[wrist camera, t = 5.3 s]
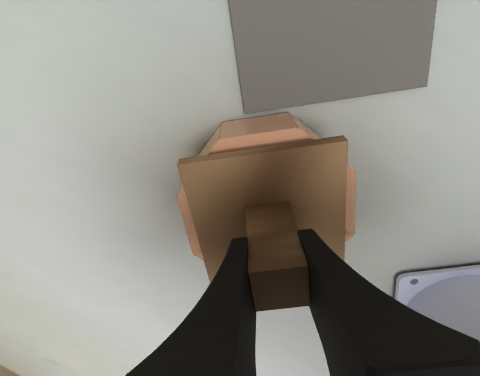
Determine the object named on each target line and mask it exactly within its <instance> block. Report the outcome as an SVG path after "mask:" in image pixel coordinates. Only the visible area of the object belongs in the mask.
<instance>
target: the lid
mask: <svg viewBox="0 0 480 376" xmlns="http://www.w3.org/2000/svg"><path fill="white" fill-rule="evenodd" d="M347 154H348V140H347V139H346V138H345V137H344V136H336V137H329V138H322V139H315V140H308V141H301V142H294V143H287V144H280V145H273V146H266V147H259V148H252V149H245V150H238V151H231V152H225V153H218V154H211V155H204V156H197V157H190V158H183V159H179V162H178V164H177V166H178V170H179V173H180V177H181V180H182V184H183V187H184V191H185V195H186V198H187V202H188V205H189V209H190V212H191V216H192V219H193V223H194V227H195V230H196V234H197V237H198V241H199V244H200V248H201V251H202V255H203V259H204V262H205V266H206V269H207V273H208V276H209V280H210V283H211V281H212V280H213V278H214V276H215V275H216V273H217V271H218V269H219V267H220V265H221V263H222V261H223V259H224V257H225V255H226V252H227V250H228V247H229V245H230V242H231V240H232V239H233V238H239V237H247V238H248V251H249V254H248V273H249V279H250V284H251V289H252V295H253V300H254V305H255V311H265V310H274V309H283V308H293V307H302V306H310V296H309V276H308V264H307V261H306V257H305V254H304V252H303V250H302V247H301V244H300V240H299V237H298V233H297V231H298V230H303V229H311V228H312V229H313V230H314V231H315V232H316V233H317V234H318V235H319V236H320V238H321V239H322V240H323V241H324V242H325V243H326V244H327V245H328V246H329V247H330V248H331V249H332V250H333V251H334V252H335V253H336V254H337V255H338V256H339V257H340V258H341V259H342V260H343V261H344V251H345V218H346V186H347Z"/></svg>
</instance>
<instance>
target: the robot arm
mask: <svg viewBox="0 0 480 376" xmlns="http://www.w3.org/2000/svg"><path fill="white" fill-rule="evenodd" d="M297 233H298V237H299V240H300V244H301V247H302V250H303V252H304V254H305V257H306V261H307V264H308V276H309V296H310V306H309V307H310V310H311V313H312V316H313V319H314V322H315V325H316V328H317V331H318V333H319V336H320V339H321V342H322V345H323V349H324V352H325V355H326V359H327V364H328V368H329V372H330V376H480V265H473V266H464V267H455V268H446V269H437V270H428V271H420V272H411V273H403V274H401V275H399V276H398V277H397V279H396V288H395V298H392V297H391V296H389V295H387V294H386V293H384V292H383V291H381V290H380V289H378V288H377V287H375V286H374V285H373V284H371V283H370V282H368V281H367V280H366V279H365V278H363V277H362V276H361V275H359V274H358V273H357V272H356V271H355V270H353V269H352V268H351V267H350V266H349V265H348V264H347V263H345V262H344V261H343V260H342V259H341V258H340V257H339V256H338V255H337V254H336V253H335V252H334V251H333V250H332V249H331V248H330V247H329V246H328V245H327V244H326V243H325V242H324V241H323V240H322V239H321V238H320V236H319V235H318V234H317V233H316V232H315V231H314V230H313V229H312V228H311V229H303V230H298V231H297ZM248 254H249V251H248V238H247V237H239V238H233V239H232V240H231V242H230V245H229V247H228V250H227V252H226V255H225V257H224V259H223V261H222V263H221V265H220V267H219V269H218V271H217V273H216V275H215V276H214V278H213V280H212V281H211V283H210V285H209V286H208V288H207V290H206V291H205V293H204V294H203V296H202V297H201V299H200V300H199V301H198V303H197V304H196V305H195V307H194V308H193V309H192V311H191V312H190V313H189V314H188V316H187V317H186V318H185V319H184V320H183V322H182V323H181V324H180V325H179V326H178V327H177V329H176V330H175V331H174V332H173V333H172V334H171V335H170V336H169V337H168V338H167V339H166V340H165V341H164V342H163V343H162V344H161V345H160V346H159V347H158V348H157V349H156V350H155V351H154V352H152V353H151V354H150V355H149V356H148V357H147V358H146V359H144V360H143V361H142V362H141V363H140V364H138V365H137V366H136V367H135V368H134V369H133V370H131V371H130V372H129V373H127V374H126V376H256V364H255V338H256V311H255V305H254V300H253V295H252V289H251V284H250V279H249V273H248ZM412 279H413V280H412Z"/></svg>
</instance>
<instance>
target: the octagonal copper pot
mask: <svg viewBox="0 0 480 376" xmlns="http://www.w3.org/2000/svg"><path fill="white" fill-rule="evenodd" d="M315 139H322V138H321V137H320V136H318V135H317V134H316V133H314V132H313V131H312V130H311V129H309V128H308V127H307V126H306V125H304V124H303V123H302V122H300V121H299V120H298V119H297V118H295V117H294V116H293V115H292V114H290V113H288V112H285V113H279V114H272V115H265V116H259V117H252V118H245V119H239V120H232V121H225V122H223V123H221V124H220V125H219V127H218V128H217V130H216V131H215V132H214V134H213V135H212V137H211V138H210V139H209V141H208V142H207V144H206V145H205V146H204V148H203V149H202V151H201V152H200V153H199V155H198V156H204V155H211V154H218V153H225V152H231V151H238V150H245V149H252V148H259V147H266V146H273V145H280V144H287V143H294V142H301V141H308V140H315ZM355 183H356V172H355V171H354V170H353V168H352V167H351V166H350V165H349V164H348V163H347V186H346V218H345V242H346V241H347V240H349V239H350V238H351V237H352V236H353V235H354V232H355ZM177 198H178V202H179V206H180V209H181V213H182V217H183V220H184V224H185V228H186V231H187V235H188V239H189V242H190V246H191V250H192V253H194V255H195V256H197V257H199V258H201V259H203V255H202V251H201V248H200V244H199V241H198V237H197V234H196V230H195V227H194V223H193V219H192V216H191V212H190V209H189V205H188V202H187V198H186V195H185V191H184V187H183V184H182V185H181V187H180V190H179V192H178V195H177ZM203 260H204V259H203Z"/></svg>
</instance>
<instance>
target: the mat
mask: <svg viewBox="0 0 480 376" xmlns="http://www.w3.org/2000/svg"><path fill="white" fill-rule="evenodd" d="M228 1H229V8H230V15H231V22H232V29H233V36H234V43H235V50H236V57H237V64H238V71H239V78H240V85H241V92H242V99H243V106H244V113H245V114H249V113H255V112H262V111H268V110H275V109H282V108H288V107H295V106H301V105H308V104H315V103H321V102H328V101H335V100H341V99H348V98H354V97H361V96H368V95H374V94H381V93H388V92H394V91H401V90H407V89H414V88H421V87H427V82H428V74H429V65H430V57H431V48H432V40H433V31H434V23H435V14H436V6H437V0H228Z"/></svg>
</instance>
